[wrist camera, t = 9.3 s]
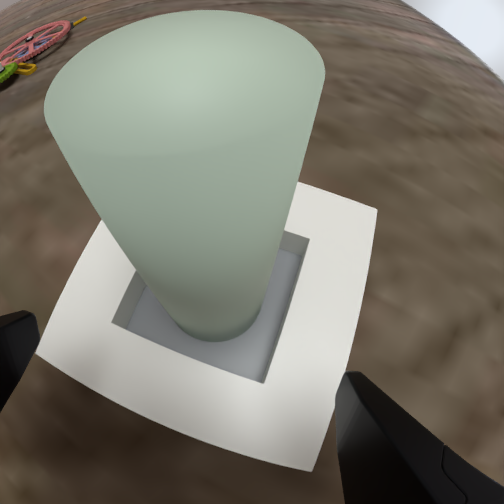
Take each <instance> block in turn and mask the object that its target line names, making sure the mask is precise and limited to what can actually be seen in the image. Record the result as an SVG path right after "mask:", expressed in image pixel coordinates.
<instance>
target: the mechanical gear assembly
mask: <svg viewBox="0 0 504 504" xmlns="http://www.w3.org/2000/svg"><path fill="white" fill-rule="evenodd" d="M86 19H87V18H86V17H83V18H82V19H80V20H78V21H76V22H75V23H73V22H68V21H66V20H65V21H63V20H62V21H57V22H53V23H50V24H47V25H44V26H42V27H39V28H38V29H35V30H33V31H32V32H29V33H27V34H26V35H24V36H23V37H21V38H20V39H18V40H17V41H15V42H14V43H13V44H11V45H10V46H8V48H6V49H5V50H4V51H3V52H1V54H0V83H1V82H3V81H4V80H6V79H7V78H9V77H10V75H12V74H13V73H16V74H22V75H30V74H32V73H33V72H34V71H36V69H37V67H36V64H28V63H22V62H23V61H26V60H27V59H29V58H30V57H33V56H34V55H37V53H40V52H41V51H44V49H47V47H50V45H53V44H54V43H56V42H57V41H58V40H59V39H61V38H62V37H63V36H64V35H66V33H68V31H69V30H71V29H72V28H74V26H76V25H77V24H79V23H81V22H82V21H84V20H86ZM58 26H63V27H64V28H63V30H61V31H60V32H57V33H54V34H51V35H49V34H48V35H45V34H47V33H48V32H50V31H52V30H53V29H55V28H56V27H58ZM51 27H52V28H51ZM48 28H50V29H49V30H47V31H46V32H44V33H43V34H41V35H40V36H38V37H37V38H34V37H33V35H34V34H36V33H38V32H40V31H43V30H45V29H48ZM25 39H26V40H25ZM23 40H25V41H26V44H24V45H21V46H19V47H17V48H14V49H12V48H13V47H15V46H16V45H18V44H19V43H20V42H22V41H23ZM42 40H43V41H42ZM40 41H41V42H40ZM38 45H39V46H38ZM11 49H12V50H11ZM25 49H26V50H25ZM16 50H18V51H16ZM13 51H16V53H14V55H12V56H11V57H8V58H6V59H5V60H3V61H1V59H2V58H3V57H4V56H5V55H7V54H9V53H11V52H13ZM25 52H26V53H25ZM23 53H25V54H23ZM22 54H23V55H22ZM18 67H20V68H27V69H29V70H25V69H17V68H18Z"/></svg>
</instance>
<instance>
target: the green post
mask: <svg viewBox="0 0 504 504" xmlns="http://www.w3.org/2000/svg"><path fill="white" fill-rule="evenodd" d="M324 80H325V67H324V64H323V60H322V58H321V56H320V55H319V53H318V51H317V50H316V49H315V48H314V46H313V45H312V44H311V43H310V42H309V41H308V40H306V39H305V38H304V37H303V36H301V35H300V34H298V33H297V32H295V31H294V30H292V29H290V28H288V27H286V26H284V25H282V24H280V23H277V22H275V21H272V20H269V19H266V18H263V17H259V16H255V15H251V14H245V13H240V12H232V11H220V10H196V11H184V12H176V13H169V14H164V15H159V16H155V17H151V18H147V19H144V20H140V21H137V22H135V23H132V24H129V25H126V26H124V27H121V28H119V29H117V30H115V31H113V32H110V33H108V34H106V35H105V36H103V37H101V38H99V39H98V40H96V41H94V42H93V43H91V44H90V45H88V46H87V47H85V48H84V49H82V50H81V51H80V52H79V53H78V54H76V55H75V56H74V57H73V58H72V59H71V60H70V61H69V62H68V63H67V64H66V65H65V66H64V67H63V68H62V69H61V70H60V72H59V73H58V74H57V75H56V77H55V78H54V80H53V82H52V83H51V85H50V87H49V90H48V92H47V94H46V98H45V102H44V115H45V119H46V123H47V125H48V127H49V129H50V131H51V132H52V134H53V136H54V138H55V140H56V142H57V144H58V146H59V148H60V149H61V151H62V153H63V155H64V157H65V158H66V160H67V162H68V164H69V166H70V167H71V169H72V171H73V173H74V174H75V176H76V178H77V179H78V181H79V183H80V185H81V186H82V188H83V190H84V191H85V193H86V195H87V196H88V198H89V200H90V201H91V203H92V204H93V206H94V208H95V209H96V211H97V212H98V214H99V216H100V217H101V219H102V220H103V222H104V223H105V225H106V226H107V228H108V230H109V231H110V233H111V234H112V236H113V237H114V239H115V240H116V242H117V243H118V245H119V246H120V248H121V249H122V251H123V252H124V253H125V255H126V256H127V258H128V259H129V261H130V262H131V264H132V265H133V266H134V268H135V269H136V271H137V272H138V273H139V275H140V276H141V278H142V279H143V280H144V282H145V283H146V285H147V286H148V287H149V289H150V290H151V291H152V293H153V294H154V295H155V297H156V298H157V299H158V301H159V302H160V303H161V305H162V306H163V307H164V309H165V310H166V311H167V313H168V314H169V315H170V316H171V318H172V319H173V320H174V322H175V323H176V324H177V325H178V326H179V328H180V329H182V330H183V331H184V332H185V333H187V334H188V335H190V336H191V337H193V338H196V339H198V340H201V341H206V342H223V341H228V340H231V339H233V338H236V337H238V336H240V335H241V334H243V333H244V332H245V331H246V330H248V329H249V328H250V327H251V326H252V324H253V323H254V322H255V320H256V319H257V317H258V315H259V313H260V310H261V306H262V303H263V300H264V296H265V293H266V290H267V286H268V283H269V280H270V276H271V273H272V270H273V266H274V263H275V259H276V256H277V252H278V249H279V245H280V242H281V239H282V235H283V232H284V228H285V225H286V221H287V218H288V214H289V210H290V207H291V203H292V200H293V196H294V193H295V189H296V185H297V182H298V178H299V174H300V171H301V167H302V163H303V160H304V156H305V152H306V149H307V145H308V141H309V137H310V134H311V130H312V126H313V122H314V119H315V115H316V111H317V107H318V103H319V99H320V95H321V92H322V88H323V84H324Z"/></svg>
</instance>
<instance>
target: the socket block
mask: <svg viewBox="0 0 504 504" xmlns="http://www.w3.org/2000/svg"><path fill="white" fill-rule="evenodd" d="M376 216H377V209H375V208H372V207H369V206H367V205H364V204H361V203H358V202H356V201H353V200H350V199H347V198H345V197H342V196H339V195H336V194H333V193H330V192H327V191H324V190H321V189H318V188H315V187H312V186H309V185H306V184H303V183H300V182H297V185H296V189H295V193H294V196H293V200H292V203H291V207H290V210H289V214H288V218H287V221H286V225H285V228H284V232H283V235H282V239H281V242H280V245H279V249H278V252H277V256H276V259H275V263H274V266H273V270H272V273H271V276H270V280H269V283H268V286H267V290H266V293H265V296H264V300H263V303H262V306H261V310H260V313H259V315H258V317H257V319H256V320H255V322H254V323H253V324H252V326H251V327H250V328H249V329H248V330H246V331H245V332H244V333H243V334H241V335H240V336H238V337H236V338H233V339H231V340H228V341H223V342H206V341H201V340H198V339H196V338H193V337H191V336H190V335H188V334H187V333H185V332H184V331H183V330H182V329H180V328H179V326H178V325H177V324H176V323H175V322H174V320H173V319H172V318H171V316H170V315H169V314H168V313H167V311H166V310H165V309H164V307H163V306H162V305H161V303H160V302H159V301H158V299H157V298H156V297H155V295H154V294H153V293H152V291H151V290H150V289H149V287H148V286H147V285H146V283H145V282H144V280H143V279H142V278H141V276H140V275H139V273H138V272H137V271H136V269H135V268H134V266H133V265H132V264H131V262H130V261H129V259H128V258H127V256H126V255H125V253H124V252H123V251H122V249H121V248H120V246H119V245H118V243H117V242H116V240H115V239H114V237H113V236H112V234H111V233H110V231H109V230H108V228H107V226H106V225H105V223H104V222H103V220H101V222H100V223H99V225H98V227H97V228H96V230H95V232H94V234H93V235H92V237H91V239H90V240H89V242H88V244H87V246H86V248H85V249H84V251H83V253H82V255H81V257H80V259H79V260H78V262H77V264H76V266H75V268H74V270H73V272H72V274H71V276H70V278H69V280H68V282H67V284H66V286H65V288H64V290H63V292H62V294H61V296H60V298H59V300H58V302H57V304H56V306H55V309H54V311H53V313H52V315H51V317H50V320H49V322H48V324H47V327H46V329H45V331H44V334H43V336H42V338H41V341H40V343H39V346H38V348H37V351H36V354H37V355H39V356H40V357H41V358H43V359H44V360H46V361H47V362H49V363H50V364H52V365H53V366H55V367H56V368H58V369H59V370H61V371H62V372H64V373H66V374H67V375H69V376H70V377H72V378H74V379H75V380H77V381H79V382H80V383H82V384H84V385H85V386H87V387H89V388H90V389H92V390H94V391H96V392H98V393H99V394H101V395H103V396H105V397H107V398H108V399H110V400H112V401H114V402H116V403H118V404H120V405H122V406H124V407H126V408H128V409H130V410H132V411H134V412H136V413H138V414H140V415H142V416H144V417H146V418H148V419H151V420H153V421H155V422H157V423H159V424H162V425H164V426H166V427H169V428H171V429H173V430H176V431H178V432H181V433H183V434H186V435H188V436H191V437H193V438H196V439H198V440H201V441H204V442H207V443H209V444H212V445H215V446H218V447H221V448H224V449H227V450H230V451H233V452H236V453H239V454H242V455H246V456H249V457H252V458H256V459H259V460H263V461H267V462H270V463H274V464H278V465H282V466H286V467H291V468H295V469H299V470H304V471H309V472H312V470H313V468H314V465H315V462H316V460H317V457H318V454H319V451H320V449H321V446H322V443H323V440H324V437H325V434H326V432H327V429H328V426H329V423H330V420H331V416H332V413H333V410H334V407H335V395H336V392H337V389H338V387H339V384H340V382H341V379H342V376H343V374H344V373H345V369H346V366H347V362H348V358H349V354H350V350H351V346H352V342H353V338H354V334H355V330H356V326H357V321H358V317H359V312H360V308H361V303H362V298H363V293H364V288H365V283H366V278H367V273H368V267H369V262H370V256H371V250H372V243H373V237H374V230H375V223H376Z"/></svg>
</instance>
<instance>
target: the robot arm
mask: <svg viewBox="0 0 504 504" xmlns="http://www.w3.org/2000/svg"><path fill="white" fill-rule="evenodd" d="M39 342H40V334H39V329H38V325H37V320H36V316H35V315H34V314H33V313H31V312H28V311H25V310H22V311H18V312H14V313H11V314H7V315H3V316H0V412H1V411H2V409H3V407H4V405H5V404H6V402H7V400H8V399H9V397H10V395H11V394H12V392H13V391H14V389H15V387H16V386H17V384H18V382H19V381H20V379H21V377H22V375H23V373H24V371H25V369H26V367H27V365H28V363H29V361H30V360H31V358H32V356H33V354H34V352H35V350H36V348H37V346H38V345H39ZM335 414H336V440H337V452H338V459H339V466H340V472H341V479H342V486H343V493H344V500H345V504H504V487H503V486H502V485H500V484H499V483H497V482H496V481H494V480H492V479H491V478H489V477H488V476H486V475H485V474H483V473H482V472H480V471H479V470H478V469H476V468H475V467H473V466H472V465H470V464H469V463H468V462H466V461H465V460H464V459H463V458H461V457H460V456H459V455H458V454H456V453H455V452H454V451H453V450H451V449H450V448H449V447H448V446H447V445H444V443H443V442H442V441H441V440H439V439H438V438H437V437H436V436H435V435H433V434H432V433H431V432H430V431H429V430H428V429H426V428H425V427H424V426H423V425H422V424H420V423H419V422H418V421H417V420H416V419H415V418H413V417H412V416H411V415H410V414H409V413H408V412H406V411H405V410H404V409H403V408H402V407H401V406H399V405H398V404H397V403H396V402H395V401H394V400H392V399H391V398H390V397H389V396H388V395H387V394H385V393H384V392H383V391H382V390H381V389H380V388H378V387H377V386H376V385H375V384H374V383H373V382H372V381H370V380H369V379H368V378H367V377H366V376H365V375H364V374H362V373H361V372H359V371H346V372H345V373H344V374H343V376H342V379H341V382H340V384H339V387H338V389H337V392H336V395H335Z"/></svg>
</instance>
